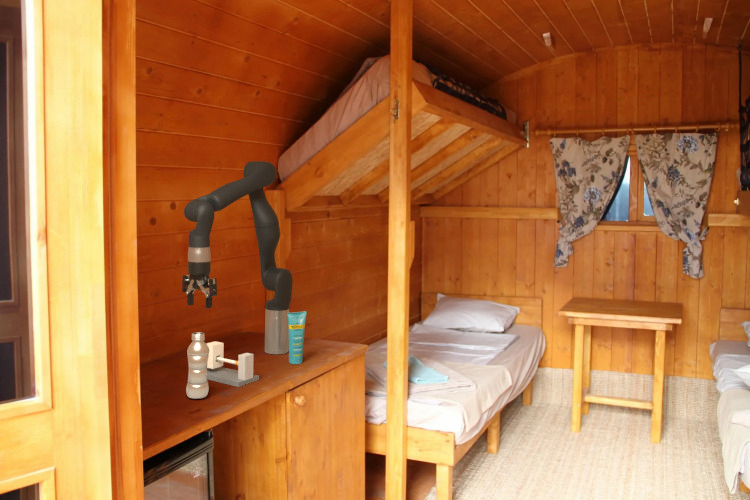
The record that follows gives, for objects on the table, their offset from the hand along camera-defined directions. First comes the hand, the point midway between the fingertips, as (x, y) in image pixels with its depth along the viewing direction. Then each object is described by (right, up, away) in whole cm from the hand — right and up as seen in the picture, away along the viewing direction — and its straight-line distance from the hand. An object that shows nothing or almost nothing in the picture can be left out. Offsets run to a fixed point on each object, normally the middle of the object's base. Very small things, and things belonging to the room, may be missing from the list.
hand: (199, 306), depth 230 cm
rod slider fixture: (+9, -24, -4) cm, 26 cm away
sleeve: (+5, -20, -2) cm, 21 cm away
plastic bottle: (+6, -26, -26) cm, 37 cm away
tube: (+31, -23, +18) cm, 42 cm away
